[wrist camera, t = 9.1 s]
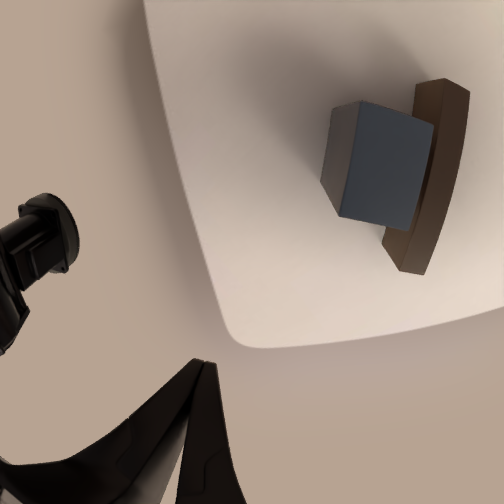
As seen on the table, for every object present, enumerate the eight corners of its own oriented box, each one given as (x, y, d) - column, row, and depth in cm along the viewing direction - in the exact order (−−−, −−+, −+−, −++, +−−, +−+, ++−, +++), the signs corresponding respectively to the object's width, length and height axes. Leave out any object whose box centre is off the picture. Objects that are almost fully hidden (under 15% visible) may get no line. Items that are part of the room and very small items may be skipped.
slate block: (336, 181, 19) (263, 187, 14) (348, 114, 16) (276, 91, 12) (428, 217, 14) (394, 241, 10) (446, 140, 12) (424, 113, 7)
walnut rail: (381, 244, 19) (398, 271, 15) (415, 83, 13) (444, 77, 10) (403, 248, 19) (424, 275, 15) (439, 93, 13) (470, 91, 10)
